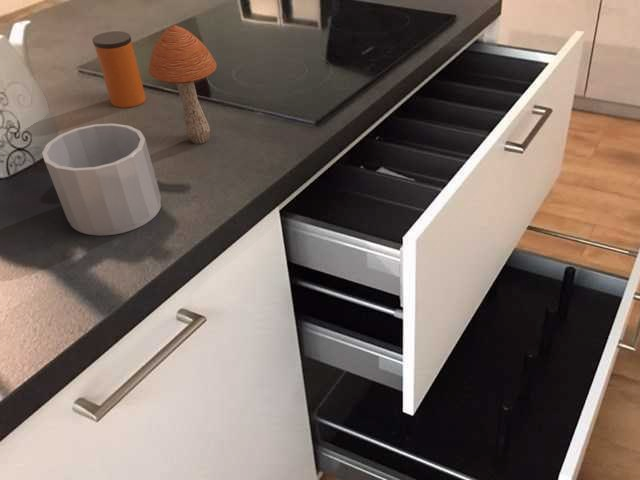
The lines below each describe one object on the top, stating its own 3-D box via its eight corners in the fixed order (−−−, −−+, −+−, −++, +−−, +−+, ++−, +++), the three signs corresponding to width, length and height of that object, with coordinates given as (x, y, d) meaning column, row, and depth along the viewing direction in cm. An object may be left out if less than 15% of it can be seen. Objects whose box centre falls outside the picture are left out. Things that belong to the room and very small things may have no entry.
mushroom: (185, 163, 82) (157, 42, 72) (156, 139, 86) (126, 22, 76) (241, 143, 86) (221, 26, 76) (210, 122, 90) (188, 8, 80)
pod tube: (115, 110, 92) (96, 46, 86) (107, 97, 95) (88, 34, 90) (150, 103, 94) (134, 40, 88) (141, 90, 97) (125, 28, 91)
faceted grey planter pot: (77, 246, 69) (51, 179, 63) (60, 200, 75) (35, 136, 70) (172, 219, 72) (155, 154, 67) (148, 178, 79) (131, 116, 74)
